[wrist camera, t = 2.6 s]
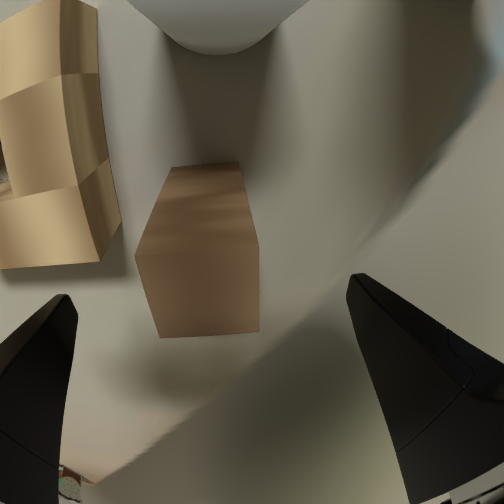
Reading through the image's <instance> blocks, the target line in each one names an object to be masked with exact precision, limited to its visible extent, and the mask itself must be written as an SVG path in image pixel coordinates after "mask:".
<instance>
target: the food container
mask: <svg viewBox="0 0 504 504" xmlns="http://www.w3.org/2000/svg"><path fill="white" fill-rule="evenodd" d="M81 484H82V475H80V474H78V473H76V472H75V471H73V470H71V469H69V468H67V467H66V466H64V465H60V464H59V499H61V500H64V501H67V502H70V503H74V504H82V500H81Z"/></svg>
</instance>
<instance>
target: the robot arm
mask: <svg viewBox="0 0 504 504" xmlns="http://www.w3.org/2000/svg"><path fill="white" fill-rule="evenodd" d="M346 301H347V305H348V308H349V312H350V315H351V319H352V323H353V327H354V331H355V334H356V338H357V341H358V344H359V347H360V350H361V352H362V355H363V357H364V360H365V363H366V365H367V368H368V371H369V374H370V376H371V379H372V382H373V385H374V388H375V391H376V393H377V396H378V399H379V402H380V405H381V408H382V411H383V414H384V417H385V420H386V423H387V426H388V430H389V433H390V436H391V439H392V442H393V446H394V449H395V452H396V456H397V459H398V463H399V466H400V470H401V473H402V477H403V480H404V484H405V488H406V492H407V496H408V499H409V503H410V504H420V503H422V502H425V501H428V500H430V499H432V498H435V497H437V496H440V495H442V494H444V493H447V492H449V495H450V498H449V499H447V500H445V501H444V502H442V503H441V504H504V364H503V363H502V362H500V361H498V360H497V359H495V358H493V357H491V356H490V355H488V354H486V353H485V352H483V351H482V350H480V349H478V348H477V347H475V346H473V345H472V344H470V343H468V342H467V341H465V340H464V339H462V338H461V337H460V336H458V335H457V334H455V333H453V332H452V331H451V330H449V329H446V327H445V326H444V325H442V324H441V323H439V322H438V321H436V320H435V319H433V318H432V317H430V316H429V315H427V314H426V313H424V312H423V311H422V310H420V309H418V308H417V307H415V306H414V305H413V304H411V303H409V302H408V301H406V300H405V299H403V298H402V297H400V296H399V295H397V294H396V293H394V292H393V291H391V290H390V289H388V288H387V287H385V286H383V285H382V284H380V283H379V282H377V281H376V280H374V279H372V278H371V277H369V276H368V275H366V274H364V273H358V274H352V275H351V277H350V280H349V284H348V289H347V293H346ZM77 324H78V313H77V311H76V309H75V307H74V305H73V302H72V300H71V298H70V296H69V295H67V294H58V295H56V296H54V297H53V298H52V299H51V300H50V301H48V302H47V303H46V304H45V305H44V306H42V307H41V308H40V309H39V310H38V311H37V312H35V313H34V314H33V315H32V316H31V317H30V318H28V319H27V320H26V321H25V322H24V323H23V324H22V325H21V326H19V327H18V328H17V329H16V330H15V331H14V332H13V333H12V334H11V335H9V336H8V337H7V338H6V339H5V340H4V341H3V342H2V343H1V344H0V504H59V460H60V445H61V434H62V425H63V416H64V409H65V402H66V395H67V389H68V383H69V378H70V372H71V367H72V362H73V355H74V347H75V339H76V331H77Z"/></svg>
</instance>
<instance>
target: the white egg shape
mask: <svg viewBox="0 0 504 504" xmlns="http://www.w3.org/2000/svg"><path fill="white" fill-rule="evenodd" d="M128 1H129V2H130V3H131V4H132V5H133V7H134V8H136V9H137V10H138V11H140V12H141V13H142V14H143V15H145V16H146V17H147V18H148V19H149V20H151V21H152V22H153V23H154V24H155V25H157V26H158V27H159V28H160V29H161V30H163V31H164V32H165V33H166V34H167V35H168V36H170V37H171V38H172V39H173V40H174V41H175V42H177V43H178V44H179V45H181V46H182V47H184V48H186V49H188V50H190V51H193V52H196V53H200V54H204V55H228V54H233V53H237V52H240V51H243V50H245V49H247V48H249V47H251V46H253V45H254V44H256V43H257V42H259V41H260V40H261V39H262V38H264V37H265V36H266V35H267V34H268V33H269V32H271V31H272V30H273V29H274V28H275V27H276V26H278V25H279V24H280V23H281V22H283V21H284V20H285V19H286V18H288V17H289V16H290V15H291V14H293V13H294V12H295V11H296V10H298V9H299V8H300V7H302V6H303V5H304V4H305V3H306V2H307V1H309V0H128Z"/></svg>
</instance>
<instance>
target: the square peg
mask: <svg viewBox="0 0 504 504" xmlns="http://www.w3.org/2000/svg"><path fill="white" fill-rule="evenodd" d="M134 256H135V260H136V264H137V267H138V271H139V274H140V278H141V281H142V284H143V288H144V291H145V294H146V297H147V301H148V304H149V307H150V310H151V313H152V316H153V319H154V322H155V325H156V328H157V331H158V334H159V336H160V338H177V337H197V336H214V335H228V334H240V333H251V332H259V244H258V239H257V235H256V231H255V227H254V223H253V219H252V215H251V211H250V207H249V203H248V199H247V195H246V191H245V187H244V183H243V179H242V175H241V171H240V167H239V163H238V162H232V163H217V164H204V165H192V166H182V167H172V168H171V170H170V172H169V174H168V176H167V179H166V181H165V183H164V185H163V187H162V190H161V192H160V194H159V196H158V199H157V201H156V203H155V206H154V208H153V210H152V213H151V215H150V217H149V220H148V222H147V225H146V227H145V230H144V232H143V235H142V237H141V240H140V242H139V245H138V248H137V250H136V253H135V255H134Z"/></svg>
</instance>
